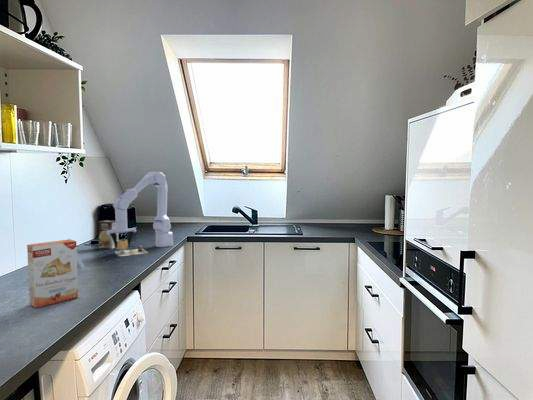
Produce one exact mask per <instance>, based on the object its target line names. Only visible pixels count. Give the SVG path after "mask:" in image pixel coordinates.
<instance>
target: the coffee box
mask: <svg viewBox="0 0 533 400" xmlns="http://www.w3.org/2000/svg"><path fill="white" fill-rule="evenodd" d="M114 229H116V220H109V219H105V220H99V221H98V246H99V247H98V249H115V244H114V241H113V239H112V237H111V235H110V234H109V235H107V230H114ZM116 235H117V241H118V240H120V239H119V233H117V234H116Z"/></svg>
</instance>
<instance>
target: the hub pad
mask: <svg viewBox="0 0 533 400" xmlns="http://www.w3.org/2000/svg"><path fill="white" fill-rule="evenodd" d="M129 253H130V252H127V251H125V253H121V252H117V253H115V252H114V254H115V255H117V256H118V255H125V254H129Z"/></svg>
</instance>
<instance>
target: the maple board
mask: <svg viewBox="0 0 533 400" xmlns="http://www.w3.org/2000/svg"><path fill="white" fill-rule="evenodd" d="M125 251H127V252H130V253H129V254H125V255H117V257H126V256H135V255H143V254H144V255H145V254H149V252H148V251H147V250H145V249H144V248H143V247H142V251H141V252H138V248H135V249H134V248H133V249H125ZM117 252H121V250H118V251H117V250H115V251H114V254H115V253H117Z"/></svg>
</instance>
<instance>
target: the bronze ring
mask: <svg viewBox="0 0 533 400" xmlns="http://www.w3.org/2000/svg"><path fill="white" fill-rule="evenodd" d="M116 249H117V250H120V249H125V250H128V249H129V246H128V240H127V239H119V240H118V241H117V248H116Z"/></svg>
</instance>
